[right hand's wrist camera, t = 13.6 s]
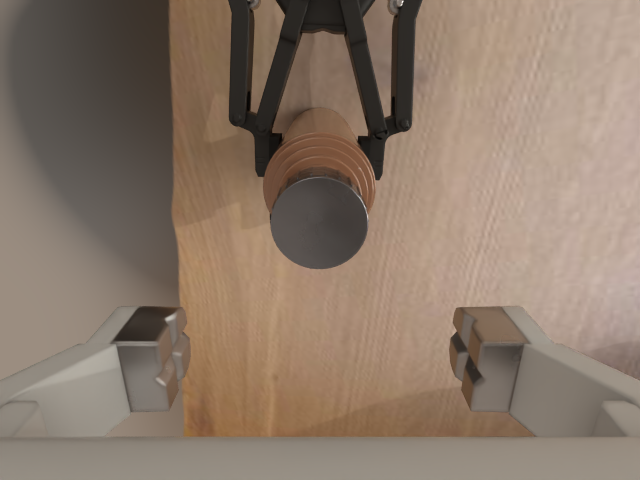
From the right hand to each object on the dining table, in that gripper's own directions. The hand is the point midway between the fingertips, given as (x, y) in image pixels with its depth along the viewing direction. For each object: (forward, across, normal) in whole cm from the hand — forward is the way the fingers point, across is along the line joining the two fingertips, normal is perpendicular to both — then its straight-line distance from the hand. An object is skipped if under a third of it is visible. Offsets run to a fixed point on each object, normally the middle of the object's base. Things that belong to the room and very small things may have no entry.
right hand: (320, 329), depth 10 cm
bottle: (+31, 0, 0) cm, 31 cm away
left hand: (+24, 0, -5) cm, 25 cm away
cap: (+8, 0, 0) cm, 8 cm away
